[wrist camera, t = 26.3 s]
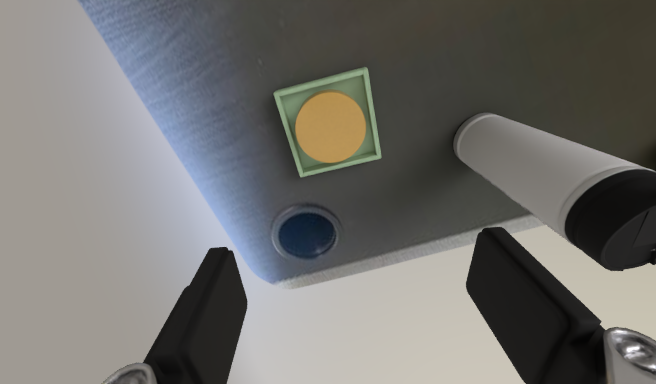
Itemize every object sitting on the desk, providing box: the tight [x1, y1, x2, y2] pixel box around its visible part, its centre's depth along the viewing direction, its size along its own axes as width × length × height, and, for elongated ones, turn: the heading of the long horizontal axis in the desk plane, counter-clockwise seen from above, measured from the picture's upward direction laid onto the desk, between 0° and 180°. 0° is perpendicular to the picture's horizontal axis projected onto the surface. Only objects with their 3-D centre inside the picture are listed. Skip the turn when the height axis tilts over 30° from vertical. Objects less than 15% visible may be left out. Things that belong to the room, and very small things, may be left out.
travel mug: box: [453, 113, 656, 271], centre depth 24 cm, size 6×7×20 cm
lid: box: [295, 89, 366, 163], centre depth 29 cm, size 8×8×3 cm
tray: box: [273, 67, 381, 177], centre depth 30 cm, size 10×10×2 cm
